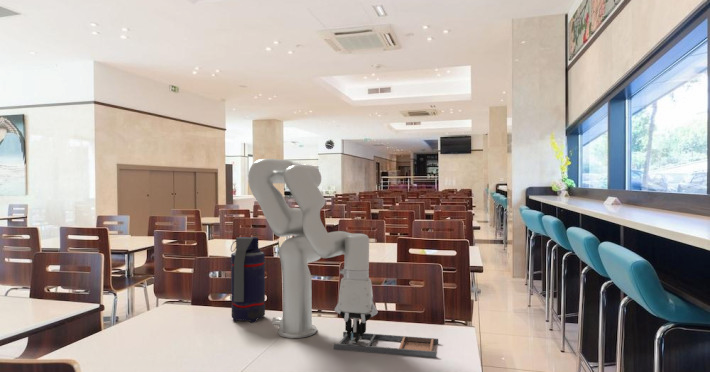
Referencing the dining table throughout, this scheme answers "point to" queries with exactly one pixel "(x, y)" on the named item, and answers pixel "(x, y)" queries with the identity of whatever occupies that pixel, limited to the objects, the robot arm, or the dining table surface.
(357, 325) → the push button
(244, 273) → the grenade
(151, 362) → the dining table surface
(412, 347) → the divided tray
